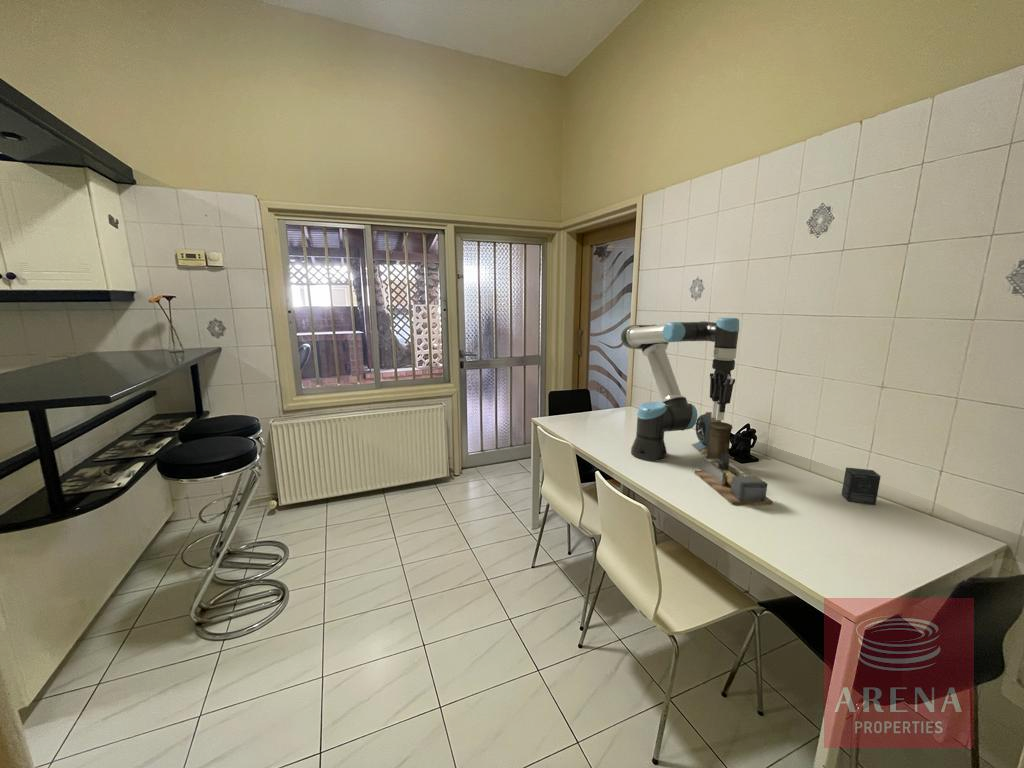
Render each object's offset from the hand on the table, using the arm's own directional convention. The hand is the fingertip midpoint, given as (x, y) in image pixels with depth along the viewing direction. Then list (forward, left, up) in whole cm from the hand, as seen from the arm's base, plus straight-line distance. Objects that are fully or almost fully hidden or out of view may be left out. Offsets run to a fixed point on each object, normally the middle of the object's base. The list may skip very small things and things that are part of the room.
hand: (717, 418), depth 156 cm
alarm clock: (-26, +12, -23) cm, 37 cm away
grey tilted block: (+7, 0, -22) cm, 23 cm away
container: (-7, +6, -23) cm, 25 cm away
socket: (+23, 0, -22) cm, 31 cm away
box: (+24, +39, -23) cm, 51 cm away
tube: (+8, 0, -21) cm, 23 cm away
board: (+13, 0, -23) cm, 26 cm away
